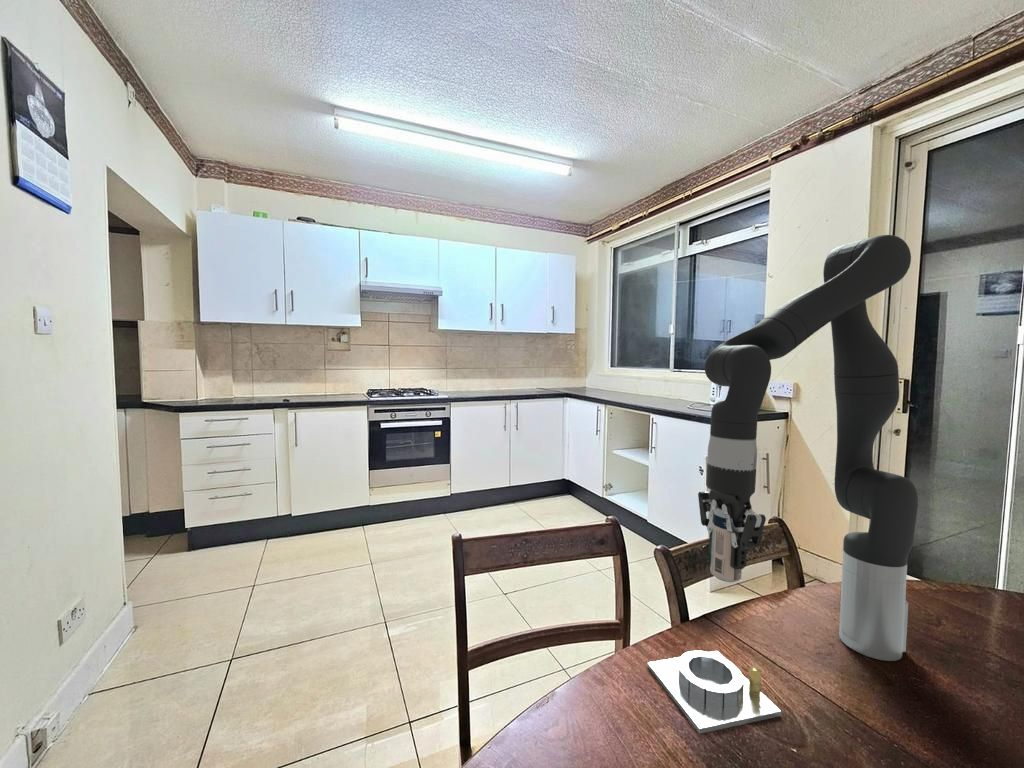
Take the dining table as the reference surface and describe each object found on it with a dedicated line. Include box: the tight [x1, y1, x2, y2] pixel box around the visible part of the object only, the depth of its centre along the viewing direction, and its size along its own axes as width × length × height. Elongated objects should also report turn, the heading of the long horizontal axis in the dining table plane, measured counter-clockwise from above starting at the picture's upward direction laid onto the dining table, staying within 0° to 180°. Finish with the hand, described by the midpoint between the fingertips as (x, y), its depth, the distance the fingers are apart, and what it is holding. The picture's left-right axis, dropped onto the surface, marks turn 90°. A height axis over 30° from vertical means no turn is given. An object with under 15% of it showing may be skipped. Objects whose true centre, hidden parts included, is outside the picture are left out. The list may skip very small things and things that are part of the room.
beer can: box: [709, 508, 743, 583], centre depth 75 cm, size 5×5×12 cm
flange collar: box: [647, 649, 782, 735], centre depth 71 cm, size 14×14×5 cm
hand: (726, 560), depth 75 cm, fingers closed on beer can, 4 cm apart
